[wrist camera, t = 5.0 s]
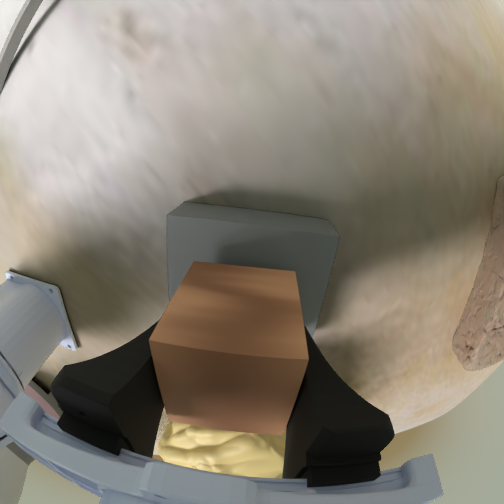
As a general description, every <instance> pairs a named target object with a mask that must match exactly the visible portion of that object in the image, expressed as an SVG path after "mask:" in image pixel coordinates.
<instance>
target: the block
mask: <svg viewBox="0 0 504 504" xmlns="http://www.w3.org/2000/svg"><path fill="white" fill-rule="evenodd" d="M149 344H150V349H151V354H152V358H153V363H154V367H155V372H156V376H157V380H158V384H159V388H160V392H161V395H162V399H163V403H164V406H165V410H166V413H167V417H168V420H170V421H174V422H179V423H184V424H189V425H194V426H200V427H206V428H212V429H219V430H227V431H235V432H245V433H257V434H273V435H283V433H284V431H285V428H286V426H287V423H288V420H289V417H290V415H291V412H292V409H293V406H294V403H295V401H296V398H297V395H298V392H299V389H300V386H301V383H302V380H303V377H304V374H305V370H306V367H307V364H308V361H309V357H308V349H307V342H306V336H305V329H304V322H303V316H302V309H301V303H300V297H299V291H298V285H297V279H296V273H295V271H288V270H277V269H267V268H257V267H247V266H237V265H227V264H218V263H208V262H199V261H194V262H193V263H192V265H191V267H190V268H189V270H188V272H187V273H186V275H185V277H184V278H183V280H182V282H181V284H180V285H179V287H178V289H177V290H176V292H175V294H174V296H173V297H172V299H171V301H170V303H169V304H168V306H167V308H166V310H165V311H164V313H163V315H162V317H161V319H160V320H159V322H158V324H157V326H156V328H155V329H154V331H153V333H152V335H151V337H150V339H149Z"/></svg>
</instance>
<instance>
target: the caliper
mask: <svg viewBox="0 0 504 504" xmlns="http://www.w3.org/2000/svg"><path fill="white" fill-rule="evenodd" d="M42 1H43V0H26V2H25V4H24V5H23V7H22V9H21V11H20V13H19V14H18V16H17V18H16V20H15V22H14V24H13V26H12V28H11V30H10V32H9V35H8V37H7V39H6V41H5V44H4V46H3V48H2V51H1V53H0V93H1V91H2V88H3V84H4V81H5V79H6V76H7V73H8V70H9V68H10V65H11V62H12V60H13V57H14V55H15V53H16V50H17V48H18V46H19V44H20V41H21V39H22V37H23V35H24V33H25V31H26V29H27V27H28V25H29V24H30V22H31V20H32V18H33V16H34V15H35V13H36V11H37V9H38V8H39V6H40V4H41V3H42Z"/></svg>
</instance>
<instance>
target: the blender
mask: <svg viewBox="0 0 504 504" xmlns="http://www.w3.org/2000/svg"><path fill="white" fill-rule="evenodd" d="M24 391H25V393H26V394H27V395H28V396H29V397H31V398H33V399H34V400H35V401H37V402H38V403H39V404H40V405H41V406H42V408H43V409H44V411H45V412H46V413H47V414H49V415H51V416H53V417H54V418H56V419H58V420H59V419H60V417H61V415H62V414H63V412H62V410H61V409H60V408H59V406H58V403H57V401H56V399H55V398H54V396H53V394H52V392H50V393H49V394H47V393H46V392H44V391H43V390H42V389H41V388H40V387H39V386H38V385H37V384H36V383H34V382H33V381H32V380H31V381H30V382H29V384H28V385H27V386H26V388H25V389H24ZM33 460H35V458H33V457H32V456H30V455H29V454H28V453H26V452H25V451H24V450H22V449H21V448H20V447H19V446H18V445H17V444H16V443H15V442H14V441H13V442H11V443H9V444H7V445H6V446H5V447H4V448H3V449H2V450H1V451H0V504H18V502H19V499H20V497H21V493H22V490H23V485H24V481H25V478H26V473H27V469H28V466H29V464H30V463H31V462H32V461H33Z"/></svg>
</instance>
